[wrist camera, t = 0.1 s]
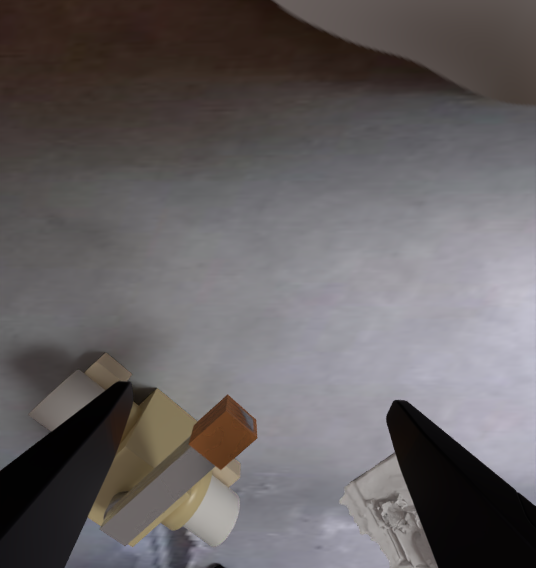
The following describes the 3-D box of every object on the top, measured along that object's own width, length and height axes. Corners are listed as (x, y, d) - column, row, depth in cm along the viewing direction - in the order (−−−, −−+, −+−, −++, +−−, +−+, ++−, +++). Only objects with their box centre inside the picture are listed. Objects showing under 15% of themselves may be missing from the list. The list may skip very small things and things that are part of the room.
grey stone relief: (413, 405, 30) (445, 437, 25) (525, 525, 34) (573, 574, 29) (303, 502, 31) (313, 551, 26) (423, 609, 35) (453, 670, 30)
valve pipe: (205, 500, 28) (192, 587, 21) (59, 389, 25) (-12, 451, 18) (247, 463, 28) (248, 539, 21) (105, 345, 24) (50, 390, 17)
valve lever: (130, 524, 19) (115, 563, 17) (100, 504, 19) (81, 541, 17) (255, 412, 18) (257, 438, 16) (228, 388, 18) (226, 410, 16)
